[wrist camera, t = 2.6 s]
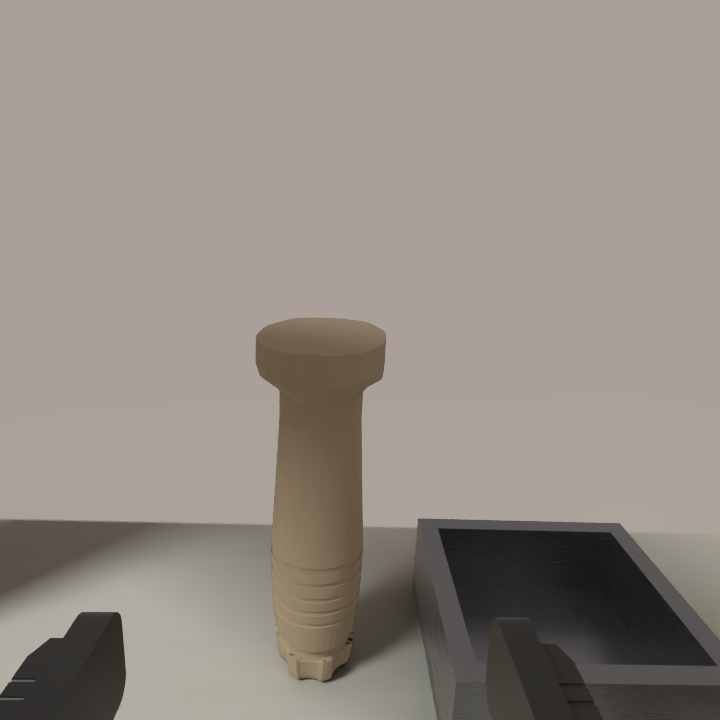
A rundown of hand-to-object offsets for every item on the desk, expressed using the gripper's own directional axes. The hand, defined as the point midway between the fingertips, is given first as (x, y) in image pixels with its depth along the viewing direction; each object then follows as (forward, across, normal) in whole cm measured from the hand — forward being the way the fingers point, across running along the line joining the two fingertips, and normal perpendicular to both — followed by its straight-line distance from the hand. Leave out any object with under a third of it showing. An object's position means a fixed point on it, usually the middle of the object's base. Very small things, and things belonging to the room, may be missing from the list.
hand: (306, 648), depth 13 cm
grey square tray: (+12, -10, +11) cm, 19 cm away
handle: (+12, 0, +11) cm, 16 cm away
